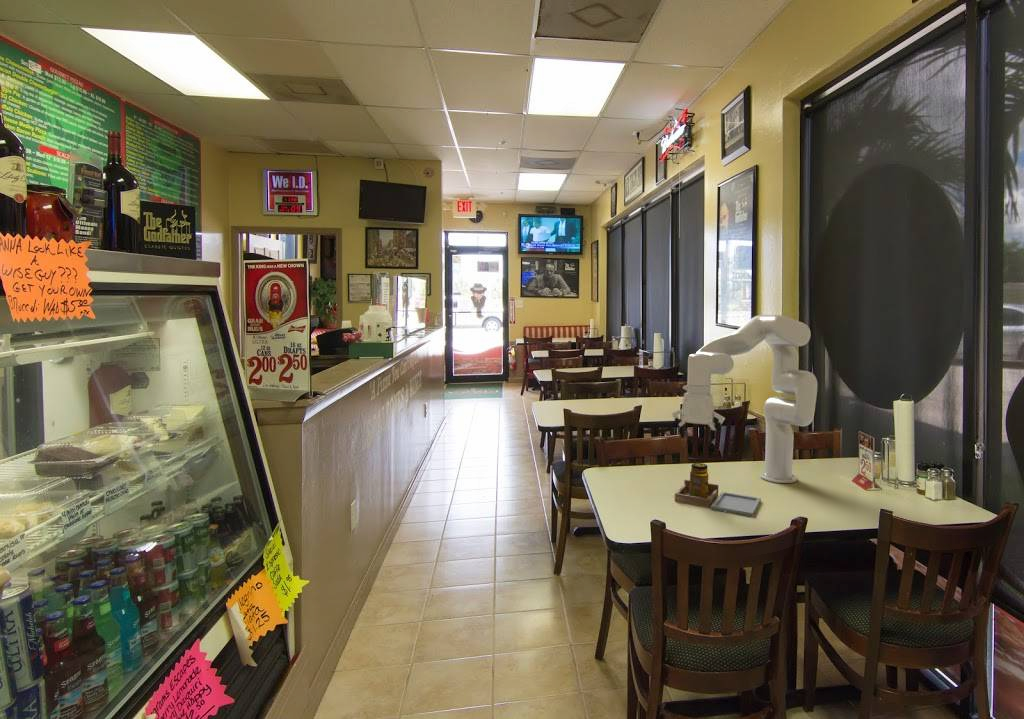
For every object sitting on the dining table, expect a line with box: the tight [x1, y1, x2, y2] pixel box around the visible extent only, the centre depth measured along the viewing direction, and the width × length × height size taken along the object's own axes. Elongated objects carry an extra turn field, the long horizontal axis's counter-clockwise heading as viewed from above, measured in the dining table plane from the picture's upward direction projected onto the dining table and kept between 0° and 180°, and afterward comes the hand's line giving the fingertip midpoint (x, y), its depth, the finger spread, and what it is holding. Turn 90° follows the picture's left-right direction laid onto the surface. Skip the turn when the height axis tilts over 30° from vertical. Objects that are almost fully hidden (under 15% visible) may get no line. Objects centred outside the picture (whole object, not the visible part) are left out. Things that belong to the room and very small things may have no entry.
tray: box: [710, 491, 762, 517], centre depth 182 cm, size 16×13×1 cm
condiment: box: [688, 462, 709, 499], centre depth 189 cm, size 7×8×12 cm
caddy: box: [674, 479, 720, 508], centre depth 189 cm, size 13×12×4 cm
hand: (697, 439), depth 187 cm, fingers open, 9 cm apart
